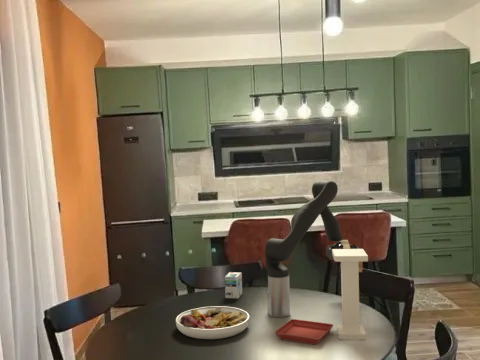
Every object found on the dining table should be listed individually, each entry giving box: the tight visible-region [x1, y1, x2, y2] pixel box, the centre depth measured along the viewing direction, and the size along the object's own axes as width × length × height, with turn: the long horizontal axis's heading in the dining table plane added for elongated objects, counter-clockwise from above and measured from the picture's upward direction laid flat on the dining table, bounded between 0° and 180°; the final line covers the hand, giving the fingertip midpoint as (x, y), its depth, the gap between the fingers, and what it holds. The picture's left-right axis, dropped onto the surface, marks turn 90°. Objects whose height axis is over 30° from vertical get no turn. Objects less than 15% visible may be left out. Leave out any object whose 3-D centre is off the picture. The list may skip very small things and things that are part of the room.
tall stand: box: [332, 248, 369, 340], centre depth 199 cm, size 14×12×32 cm
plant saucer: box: [274, 318, 334, 345], centre depth 201 cm, size 18×18×3 cm
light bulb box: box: [224, 271, 243, 299], centre depth 259 cm, size 11×7×11 cm, turn 168°
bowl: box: [175, 305, 250, 340], centre depth 212 cm, size 30×30×8 cm
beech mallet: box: [341, 239, 364, 273], centre depth 219 cm, size 23×8×5 cm, turn 176°
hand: (346, 247), depth 223 cm, fingers closed on beech mallet, 3 cm apart
